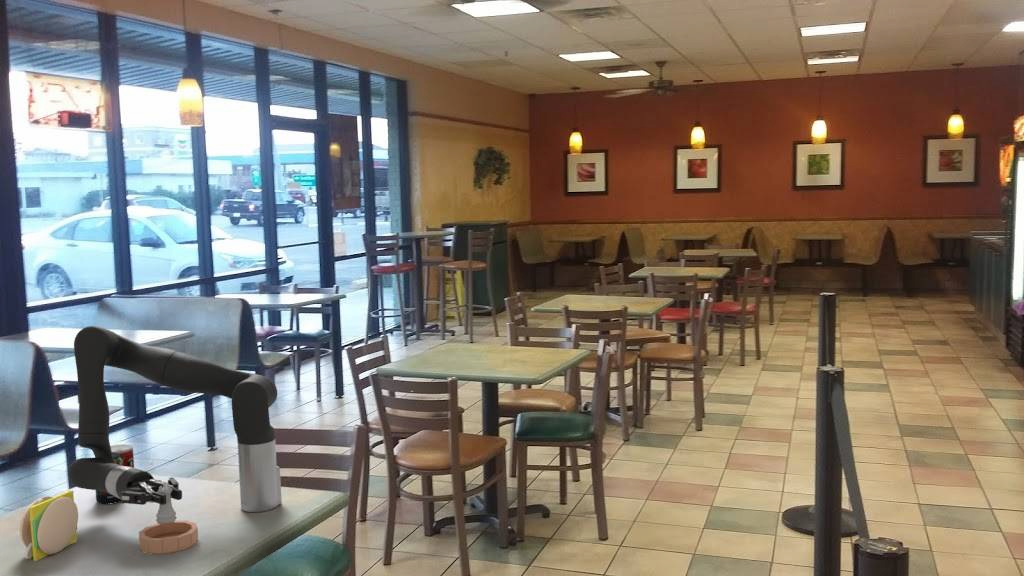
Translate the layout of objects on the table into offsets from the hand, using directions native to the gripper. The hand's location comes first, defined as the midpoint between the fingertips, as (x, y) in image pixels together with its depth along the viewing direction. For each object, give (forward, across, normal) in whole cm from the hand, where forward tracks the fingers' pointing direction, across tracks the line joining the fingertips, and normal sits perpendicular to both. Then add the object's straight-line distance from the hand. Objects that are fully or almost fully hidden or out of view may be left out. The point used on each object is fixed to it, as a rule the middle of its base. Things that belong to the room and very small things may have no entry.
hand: (172, 497), depth 207 cm
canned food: (-52, +18, +12) cm, 57 cm away
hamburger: (-22, -17, +12) cm, 31 cm away
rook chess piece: (-3, 0, +6) cm, 7 cm away
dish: (-2, 0, +11) cm, 12 cm away
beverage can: (-43, +10, +12) cm, 46 cm away
